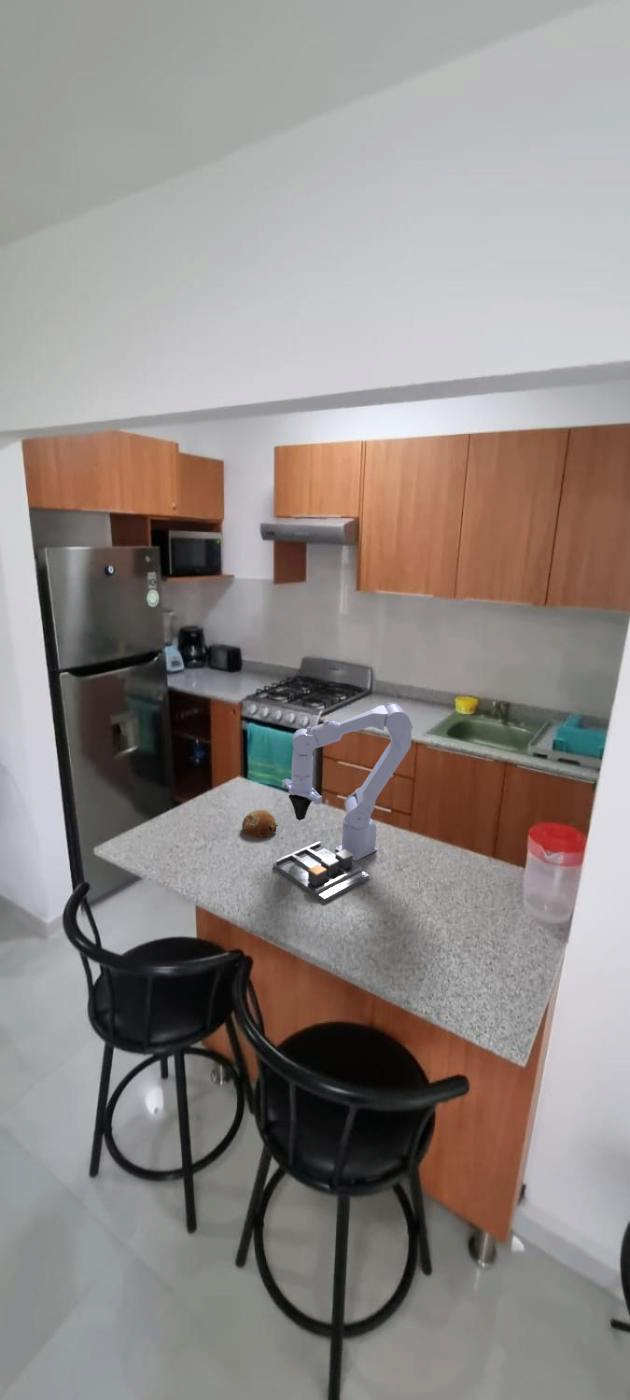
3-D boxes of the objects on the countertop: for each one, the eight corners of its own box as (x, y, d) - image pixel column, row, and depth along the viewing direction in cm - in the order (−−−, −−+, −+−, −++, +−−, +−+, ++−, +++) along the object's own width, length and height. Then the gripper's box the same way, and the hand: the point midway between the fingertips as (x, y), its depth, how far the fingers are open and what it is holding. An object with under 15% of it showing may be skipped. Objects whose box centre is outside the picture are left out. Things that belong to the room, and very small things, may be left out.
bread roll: (262, 831, 175) (254, 807, 175) (286, 828, 168) (278, 802, 168) (241, 844, 167) (232, 818, 167) (265, 841, 161) (256, 814, 161)
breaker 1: (329, 867, 147) (330, 855, 146) (337, 872, 145) (338, 860, 144) (320, 872, 145) (321, 860, 144) (328, 877, 143) (329, 865, 142)
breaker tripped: (317, 876, 143) (318, 864, 142) (325, 882, 141) (326, 869, 140) (308, 881, 141) (308, 868, 140) (316, 887, 139) (316, 874, 138)
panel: (317, 847, 160) (317, 840, 159) (369, 879, 146) (369, 871, 145) (273, 866, 149) (273, 859, 149) (324, 902, 135) (324, 895, 134)
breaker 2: (344, 861, 151) (344, 849, 150) (352, 865, 148) (352, 853, 148) (335, 865, 148) (335, 853, 147) (343, 870, 146) (343, 858, 145)
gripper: (274, 768, 154) (273, 813, 158) (308, 785, 144) (307, 833, 147) (293, 762, 159) (292, 806, 162) (328, 779, 148) (326, 825, 152)
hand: (300, 818), depth 155 cm, fingers closed
